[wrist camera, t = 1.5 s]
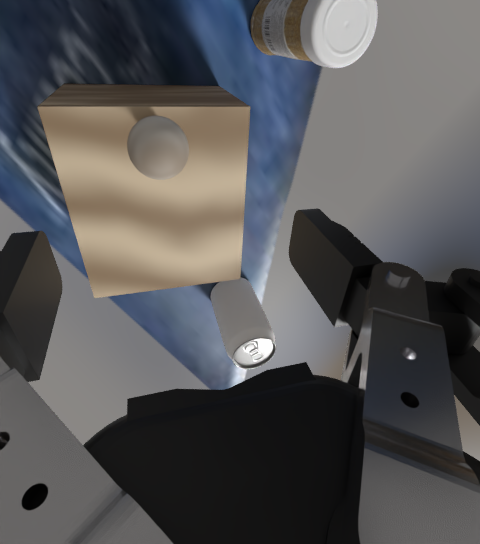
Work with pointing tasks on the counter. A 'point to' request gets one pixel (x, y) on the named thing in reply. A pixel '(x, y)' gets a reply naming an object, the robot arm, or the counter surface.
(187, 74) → the counter surface
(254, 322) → the can
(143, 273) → the wooden box lid
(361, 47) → the sprinkles bottle
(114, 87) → the wooden box
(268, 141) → the counter surface
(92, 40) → the counter surface
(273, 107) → the counter surface
